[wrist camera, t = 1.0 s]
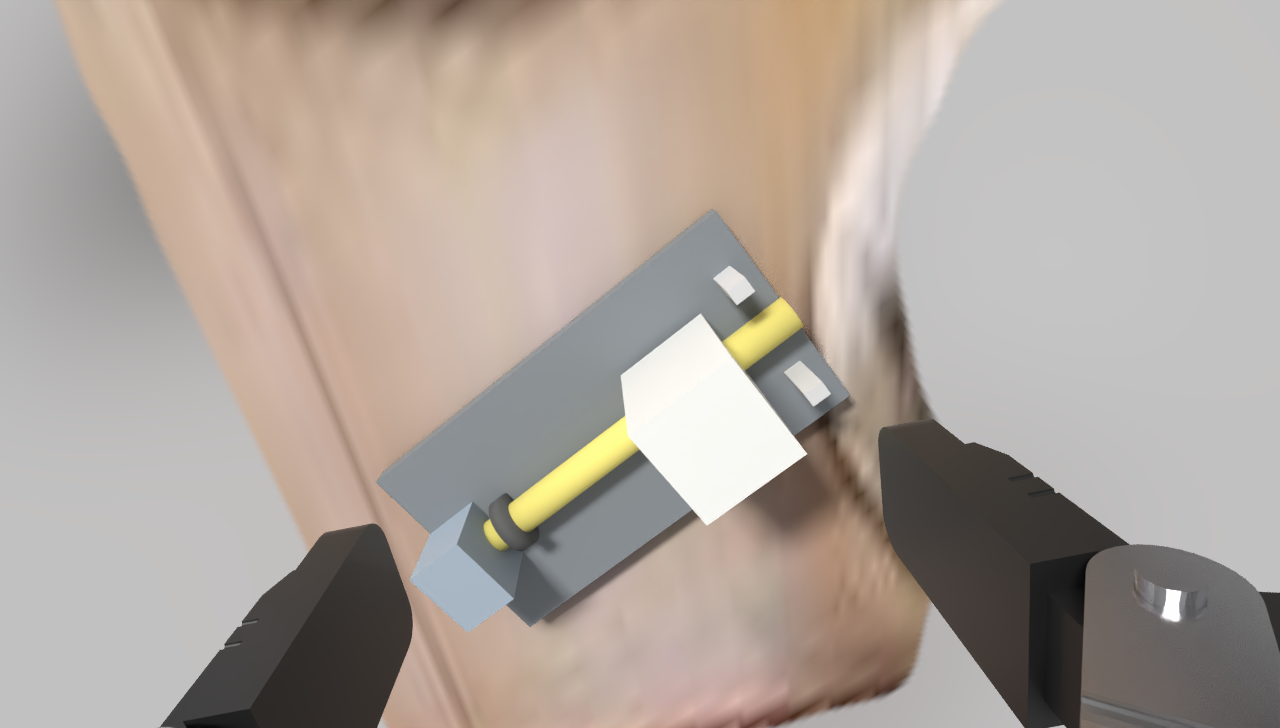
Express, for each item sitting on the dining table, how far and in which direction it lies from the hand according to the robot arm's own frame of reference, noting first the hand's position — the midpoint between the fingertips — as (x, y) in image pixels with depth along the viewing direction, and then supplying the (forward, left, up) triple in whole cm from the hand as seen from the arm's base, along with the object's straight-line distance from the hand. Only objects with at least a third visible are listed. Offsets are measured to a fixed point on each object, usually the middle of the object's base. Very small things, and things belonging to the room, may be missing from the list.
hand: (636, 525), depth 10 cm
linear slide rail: (+5, +6, -23) cm, 24 cm away
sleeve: (0, +6, -21) cm, 22 cm away
